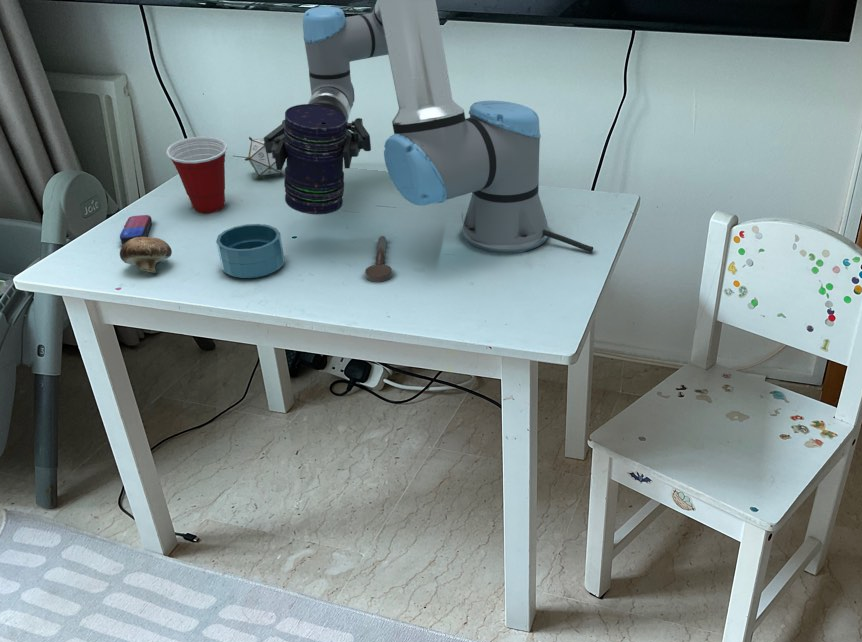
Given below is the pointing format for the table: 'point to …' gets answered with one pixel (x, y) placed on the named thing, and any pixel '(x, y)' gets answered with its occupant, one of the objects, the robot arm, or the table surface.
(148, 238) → the mushroom
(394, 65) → the robot arm
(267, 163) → the game die
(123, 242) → the eraser
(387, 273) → the spoon
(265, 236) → the bowl
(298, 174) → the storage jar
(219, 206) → the plastic cup
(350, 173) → the table surface
